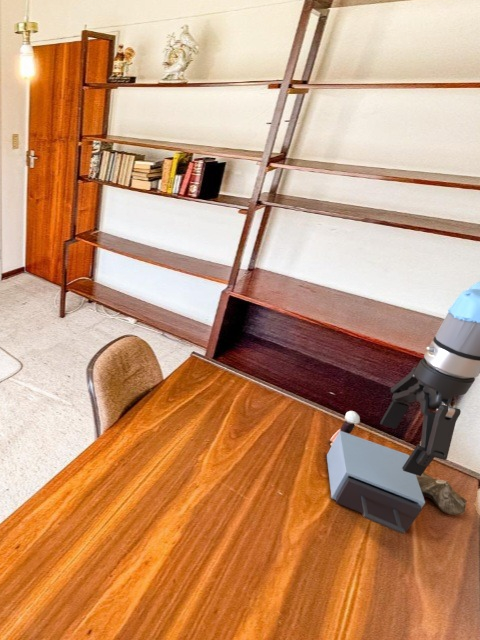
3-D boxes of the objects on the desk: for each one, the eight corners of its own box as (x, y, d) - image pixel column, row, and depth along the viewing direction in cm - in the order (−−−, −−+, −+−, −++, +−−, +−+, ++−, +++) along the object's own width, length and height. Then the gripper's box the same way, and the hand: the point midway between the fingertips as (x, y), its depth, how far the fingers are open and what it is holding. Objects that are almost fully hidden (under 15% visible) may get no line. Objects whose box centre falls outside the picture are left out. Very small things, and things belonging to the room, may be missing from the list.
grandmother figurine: (333, 435, 118) (349, 403, 113) (348, 443, 116) (366, 410, 110) (324, 448, 114) (341, 415, 108) (340, 456, 111) (358, 423, 106)
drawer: (412, 555, 86) (429, 533, 83) (338, 522, 93) (351, 500, 89) (393, 484, 103) (406, 463, 99) (331, 461, 109) (342, 440, 105)
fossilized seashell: (476, 510, 95) (431, 479, 105) (471, 492, 93) (425, 462, 103) (448, 525, 96) (405, 492, 105) (443, 507, 94) (400, 476, 103)
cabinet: (406, 529, 93) (425, 502, 89) (331, 498, 99) (346, 471, 95) (392, 480, 105) (408, 454, 101) (326, 455, 112) (339, 430, 107)
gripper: (399, 330, 87) (360, 404, 96) (454, 402, 66) (398, 487, 75) (443, 339, 84) (399, 414, 93) (515, 417, 63) (449, 504, 72)
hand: (398, 447), depth 84 cm, fingers open, 13 cm apart
